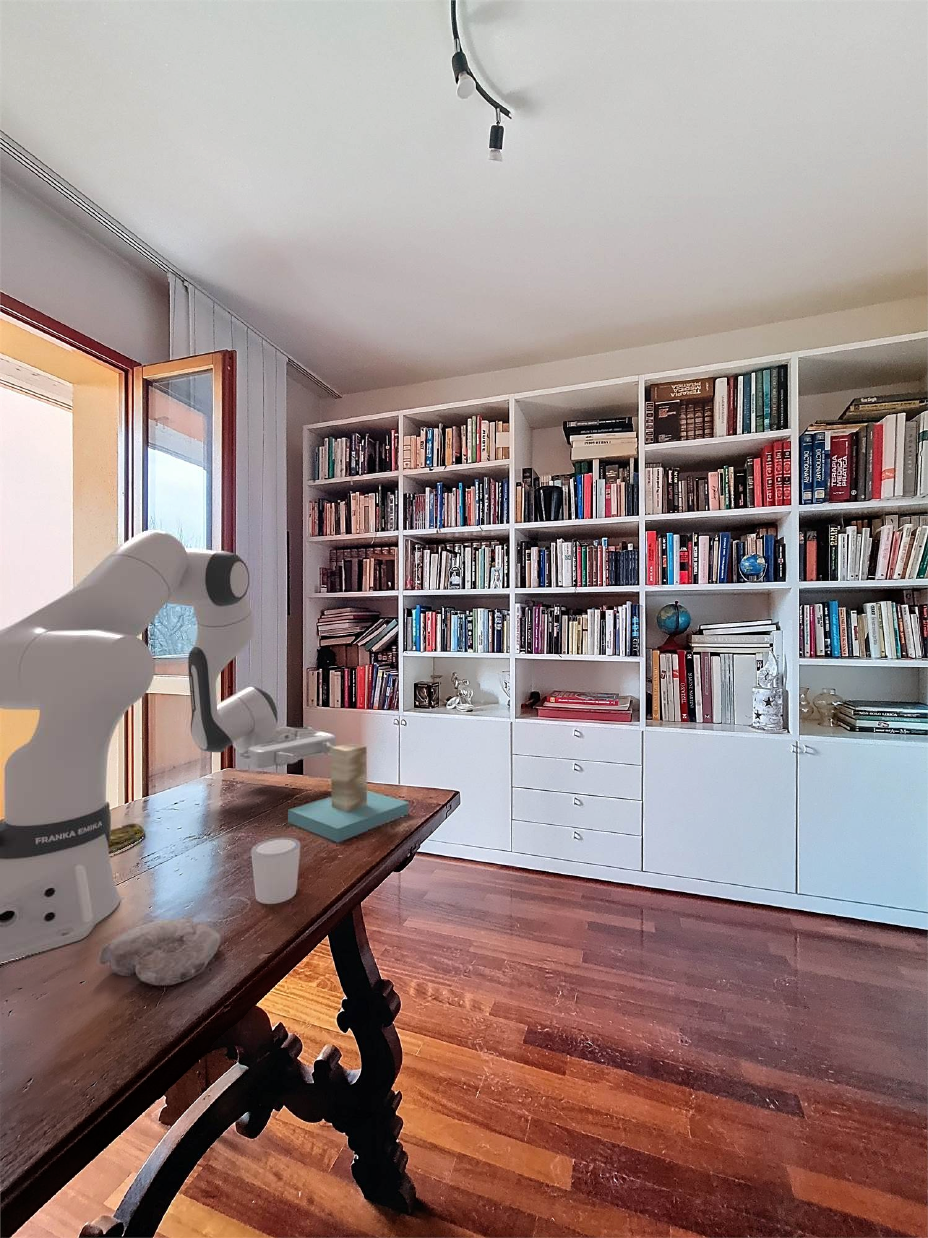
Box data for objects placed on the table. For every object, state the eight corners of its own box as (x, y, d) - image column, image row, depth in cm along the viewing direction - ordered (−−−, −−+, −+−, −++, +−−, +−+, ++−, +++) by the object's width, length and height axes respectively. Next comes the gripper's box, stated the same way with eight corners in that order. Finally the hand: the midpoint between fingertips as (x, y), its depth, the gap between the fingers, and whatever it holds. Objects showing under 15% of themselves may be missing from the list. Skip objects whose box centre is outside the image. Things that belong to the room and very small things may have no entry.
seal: (108, 837, 103) (58, 871, 89) (105, 812, 103) (55, 843, 89) (158, 829, 104) (117, 862, 90) (156, 805, 104) (114, 834, 90)
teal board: (337, 842, 96) (337, 828, 96) (288, 822, 106) (288, 809, 106) (409, 814, 110) (408, 802, 110) (359, 799, 120) (359, 788, 120)
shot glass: (291, 906, 75) (291, 856, 75) (242, 906, 75) (242, 856, 75) (307, 882, 81) (306, 836, 81) (262, 882, 82) (262, 836, 82)
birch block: (347, 812, 105) (346, 751, 105) (331, 806, 108) (331, 747, 108) (366, 805, 109) (366, 746, 109) (351, 800, 112) (350, 743, 112)
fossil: (235, 911, 66) (183, 967, 56) (235, 943, 66) (182, 1005, 57) (147, 899, 68) (81, 952, 58) (146, 931, 68) (80, 989, 58)
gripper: (236, 740, 117) (270, 749, 108) (315, 725, 133) (350, 732, 124) (236, 769, 117) (270, 780, 108) (315, 751, 133) (351, 760, 124)
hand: (314, 754), depth 116 cm, fingers open, 8 cm apart
